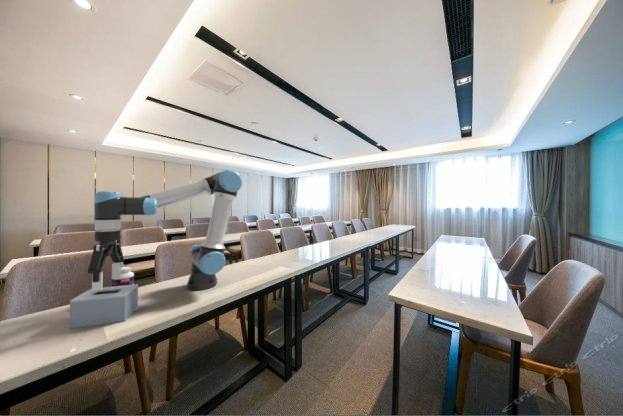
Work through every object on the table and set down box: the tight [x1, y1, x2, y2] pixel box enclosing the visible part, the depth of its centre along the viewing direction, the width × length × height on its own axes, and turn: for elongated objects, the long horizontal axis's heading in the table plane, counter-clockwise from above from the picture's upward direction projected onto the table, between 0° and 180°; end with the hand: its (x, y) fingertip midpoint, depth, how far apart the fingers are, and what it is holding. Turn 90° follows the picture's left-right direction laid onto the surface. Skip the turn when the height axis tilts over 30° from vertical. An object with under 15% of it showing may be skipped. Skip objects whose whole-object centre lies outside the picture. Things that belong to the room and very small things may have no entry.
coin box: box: [69, 283, 139, 329], centre depth 85 cm, size 16×12×10 cm
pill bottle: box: [110, 266, 135, 287], centre depth 102 cm, size 8×8×14 cm
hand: (107, 283), depth 85 cm, fingers open, 13 cm apart
